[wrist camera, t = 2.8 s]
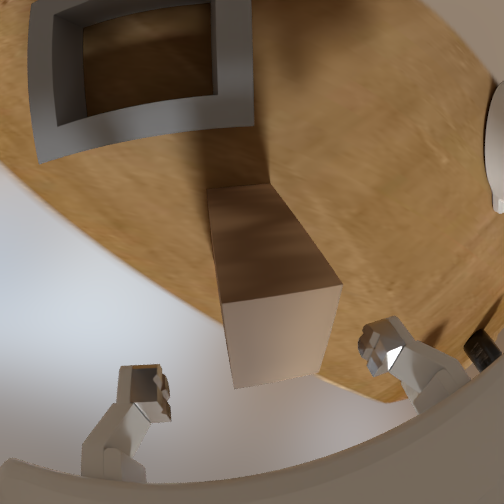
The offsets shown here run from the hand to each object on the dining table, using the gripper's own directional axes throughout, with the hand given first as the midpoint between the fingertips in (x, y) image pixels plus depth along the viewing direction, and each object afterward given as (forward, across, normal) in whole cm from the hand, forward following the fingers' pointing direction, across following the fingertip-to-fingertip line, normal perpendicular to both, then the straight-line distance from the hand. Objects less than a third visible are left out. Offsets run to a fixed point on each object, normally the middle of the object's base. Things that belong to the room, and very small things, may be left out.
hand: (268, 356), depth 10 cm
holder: (+10, +4, -12) cm, 16 cm away
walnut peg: (+10, -1, 0) cm, 10 cm away
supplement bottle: (+10, -52, +33) cm, 62 cm away
